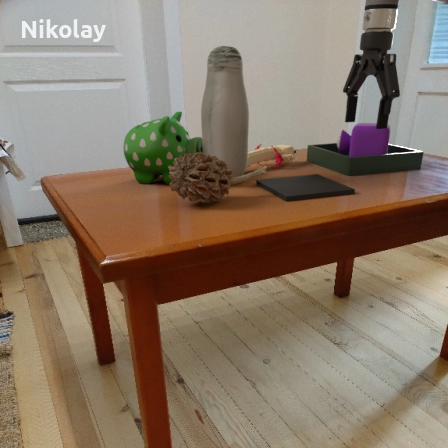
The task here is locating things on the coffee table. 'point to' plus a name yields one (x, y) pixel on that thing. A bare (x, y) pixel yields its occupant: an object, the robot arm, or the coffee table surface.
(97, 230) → the coffee table surface
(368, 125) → the toy camera
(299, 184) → the mat
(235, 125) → the grey bottle
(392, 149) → the bin
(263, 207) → the coffee table surface
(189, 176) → the pine cone
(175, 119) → the piggy bank
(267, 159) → the beige long piece
